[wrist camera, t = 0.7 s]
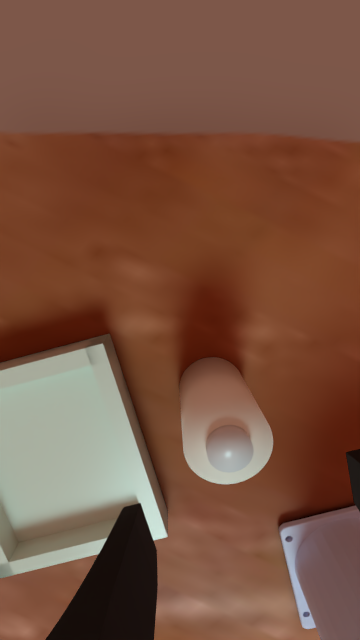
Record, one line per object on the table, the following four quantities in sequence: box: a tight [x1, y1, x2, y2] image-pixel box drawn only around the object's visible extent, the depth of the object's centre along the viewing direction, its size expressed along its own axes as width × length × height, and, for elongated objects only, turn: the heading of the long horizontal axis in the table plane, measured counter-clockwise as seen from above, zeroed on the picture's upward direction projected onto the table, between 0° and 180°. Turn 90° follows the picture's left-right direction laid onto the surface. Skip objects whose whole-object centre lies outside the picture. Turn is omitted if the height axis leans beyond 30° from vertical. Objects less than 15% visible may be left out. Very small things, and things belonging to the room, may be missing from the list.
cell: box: [179, 357, 273, 484], centre depth 17 cm, size 4×4×6 cm
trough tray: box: [0, 334, 168, 578], centre depth 20 cm, size 13×11×2 cm
